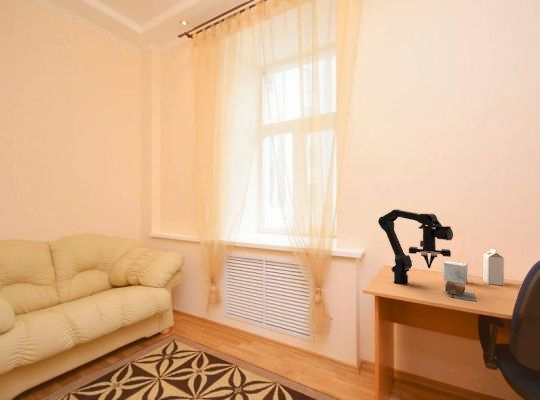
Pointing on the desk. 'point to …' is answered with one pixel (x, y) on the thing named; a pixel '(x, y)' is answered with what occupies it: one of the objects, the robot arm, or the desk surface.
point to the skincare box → (455, 272)
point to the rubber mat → (466, 296)
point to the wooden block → (454, 288)
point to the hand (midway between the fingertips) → (429, 268)
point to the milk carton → (493, 268)
